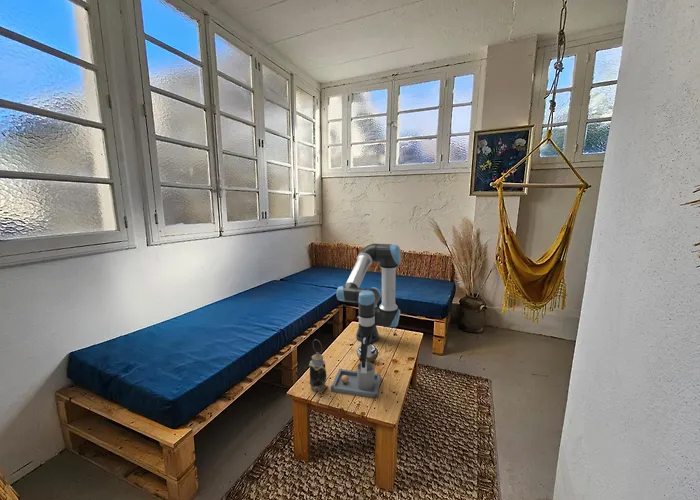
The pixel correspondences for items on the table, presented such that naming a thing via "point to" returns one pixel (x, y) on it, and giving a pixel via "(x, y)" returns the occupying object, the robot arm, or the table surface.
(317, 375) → the lantern
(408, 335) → the table surface
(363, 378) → the cup
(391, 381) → the table surface
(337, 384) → the tray
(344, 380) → the ball
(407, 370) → the table surface
